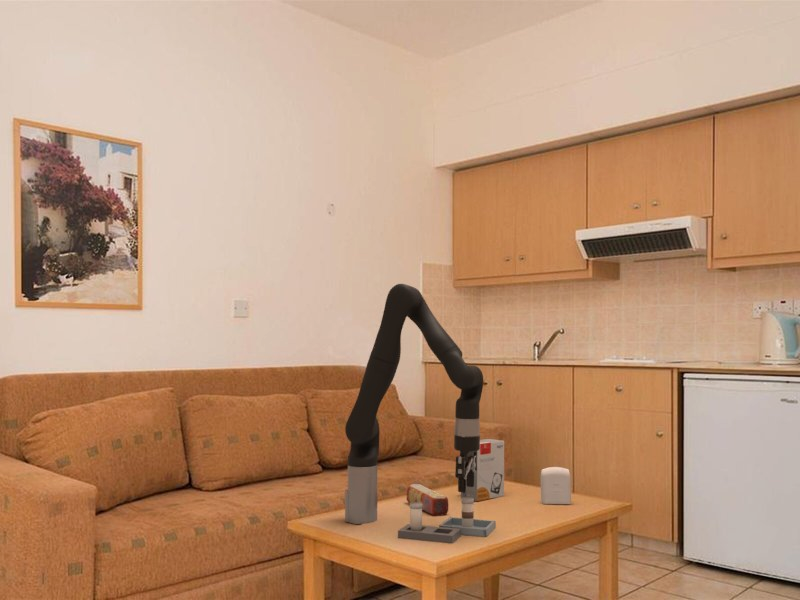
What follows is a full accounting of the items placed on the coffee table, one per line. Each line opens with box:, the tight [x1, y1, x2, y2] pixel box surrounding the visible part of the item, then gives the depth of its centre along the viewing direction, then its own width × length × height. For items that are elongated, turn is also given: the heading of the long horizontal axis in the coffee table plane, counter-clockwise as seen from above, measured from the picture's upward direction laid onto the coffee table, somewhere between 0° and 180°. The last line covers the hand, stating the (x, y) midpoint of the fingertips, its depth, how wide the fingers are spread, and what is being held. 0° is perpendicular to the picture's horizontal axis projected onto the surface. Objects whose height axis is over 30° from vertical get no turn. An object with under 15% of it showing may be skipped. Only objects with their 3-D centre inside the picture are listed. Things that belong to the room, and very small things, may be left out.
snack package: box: [406, 483, 449, 517], centre depth 246 cm, size 21×7×7 cm, turn 23°
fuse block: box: [397, 523, 462, 544], centre depth 209 cm, size 16×8×2 cm, turn 69°
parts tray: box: [438, 516, 497, 538], centre depth 216 cm, size 14×11×2 cm
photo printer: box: [540, 466, 572, 505], centre depth 254 cm, size 10×4×12 cm, turn 84°
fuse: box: [409, 502, 423, 531], centre depth 211 cm, size 4×4×9 cm
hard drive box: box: [460, 438, 505, 502], centre depth 264 cm, size 16×8×20 cm, turn 132°
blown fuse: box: [460, 497, 475, 528], centre depth 217 cm, size 4×4×9 cm
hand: (466, 489), depth 217 cm, fingers open, 8 cm apart
